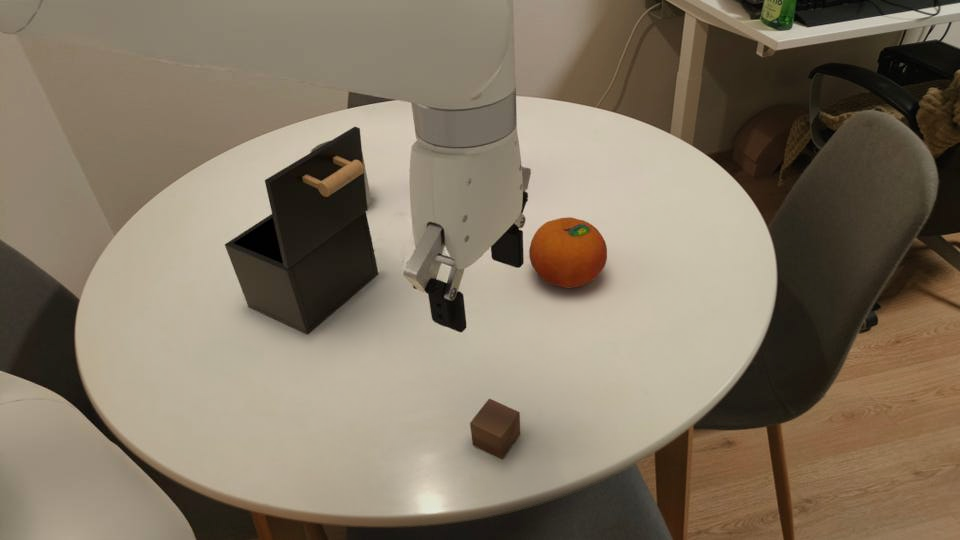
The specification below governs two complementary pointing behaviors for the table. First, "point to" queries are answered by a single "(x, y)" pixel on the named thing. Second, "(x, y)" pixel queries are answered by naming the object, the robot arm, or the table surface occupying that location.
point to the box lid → (318, 196)
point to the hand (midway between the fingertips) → (480, 292)
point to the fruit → (568, 252)
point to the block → (495, 428)
